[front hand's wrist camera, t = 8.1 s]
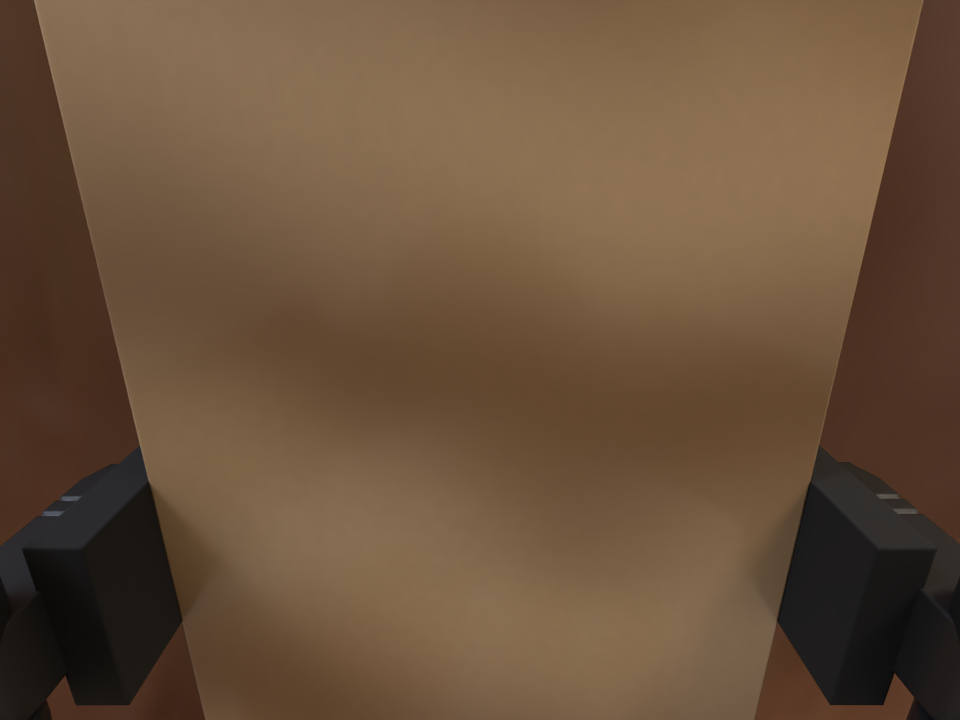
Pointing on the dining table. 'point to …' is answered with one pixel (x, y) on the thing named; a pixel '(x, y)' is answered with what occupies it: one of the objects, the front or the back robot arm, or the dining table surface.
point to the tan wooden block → (479, 331)
